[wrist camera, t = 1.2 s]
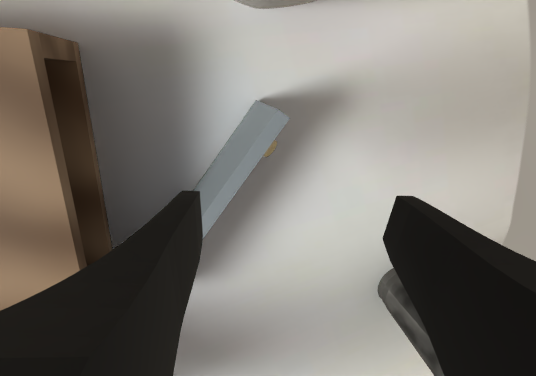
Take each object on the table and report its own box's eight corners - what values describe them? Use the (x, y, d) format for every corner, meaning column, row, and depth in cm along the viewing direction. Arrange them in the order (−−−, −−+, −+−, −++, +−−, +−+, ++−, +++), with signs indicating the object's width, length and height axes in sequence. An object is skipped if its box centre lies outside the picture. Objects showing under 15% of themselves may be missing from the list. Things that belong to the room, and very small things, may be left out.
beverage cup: (379, 323, 32) (623, 641, 14) (355, 281, 29) (626, 620, 11) (435, 286, 32) (747, 555, 14) (416, 240, 29) (785, 511, 11)
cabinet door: (146, 297, 24) (135, 358, 19) (124, 289, 23) (107, 350, 18) (275, 115, 21) (303, 129, 16) (256, 100, 20) (278, 109, 15)
